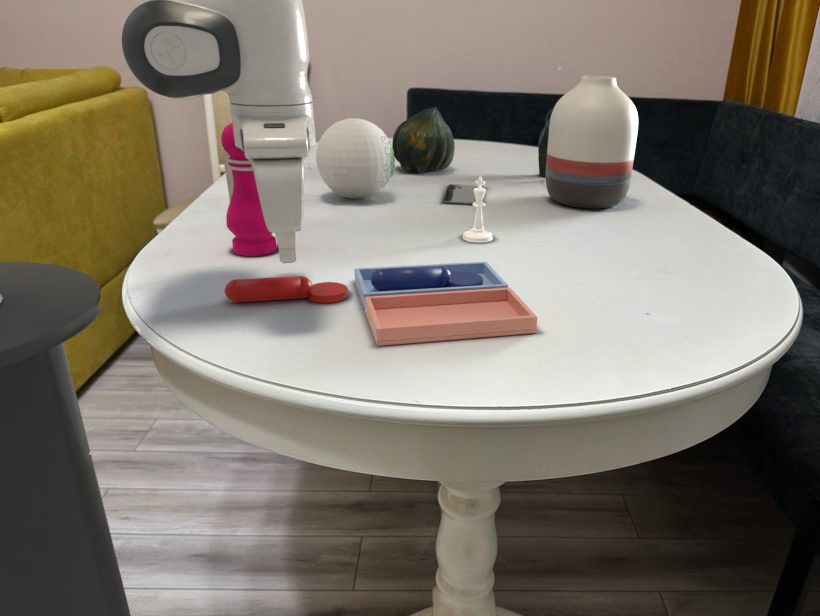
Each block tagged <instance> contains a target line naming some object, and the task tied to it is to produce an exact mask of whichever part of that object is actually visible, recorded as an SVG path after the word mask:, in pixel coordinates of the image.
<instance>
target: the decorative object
mask: <svg viewBox="0 0 820 616" xmlns="http://www.w3.org/2000/svg"><path fill="white" fill-rule="evenodd" d="M395 160H396V158H395V156H394V151H393V148H392V142H391V140H390V139H389V137H388V135H386V133H385V132H384V131H383V129H382V128H380V127H379V126H378V125H376V124H375V123H373V122H371V121H370V120H366V119H362V118H355V117H354V118H353V117H352V118H345V119H342V120H338V121H336V122H335V123H333V124H332V125H330V126H329V127H328V128H327V129H326V130H325V131H324V133H323V134H322V135H321V137H320V139H319V141H318V143H317V147H316V153H315V161H316V167H317V170H318V173H319V176H320V177H321V179H322V181H323V183H324V184H325V185H326V186H327V187H328V188H329V189H330V190H331V191H333V192H334V193H335V194H337V195H339V196H341V197H343V198H347V199H350V200H351V199H353V200H361V199H368V198H370V197H373V196H374V195H377V194H378V193H380V191H382V190H383V189H385V187H386V186H387V185H388V183H389V182H390V180H391V178H392V176H393V173H394V170H395V169H394V168H395V162H396V161H395Z"/></svg>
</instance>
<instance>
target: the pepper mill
mask: <svg viewBox="0 0 820 616" xmlns="http://www.w3.org/2000/svg"><path fill="white" fill-rule="evenodd" d="M220 144H221V146H222V148H224V150H225V151H226V152H227V153H228V154H229V156H230V157H229V158H228V159H227V161H228V162H229V163H228V164H229V165H228V168H229V169H231V170H232V175H233V194H232V197H231V201H230V200H229V204H228V207H227V210H226V217H225V218H226V219H225V220H226V221H225V222H226V227H227V229H228V230H229V231H230V233H231V234H233V236H234V237H233V238H232V240H231V244H232V250H233V251H232V252H233V253H235V254H236V255H238V256H243V257H260V256H266V255H270V254H272V253H274V252H276V251H277V249H278V245H277V239H276V236H274V235H273V233H271V232H269V231H268V229H267V226H266V223H265V220H264V216H263V212H262V208H261V203H260V199H259V194H258V190H257V185H256V181H255V177H254V172H253V168H252V165H251V162H250V161H249V159H247V158H246V157H245V154H244V152H243V151H242V150H241V149H240V148H238V147H236V146H235V140H234V132H233V124H232V122H229V123H228V124H226V125H225V127H224V128H223V130H222V132H221V135H220Z"/></svg>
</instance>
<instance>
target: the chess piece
mask: <svg viewBox="0 0 820 616" xmlns="http://www.w3.org/2000/svg"><path fill="white" fill-rule="evenodd" d="M477 178H478V179H475V180H474V184H476V185H477V186H478V187H477V188H474V189H473V191H474V194H475V198H476V202H474V203H473V204H471V205H472V206H473V207H475V213H474V219H473V225H472V226H471V228H470V229H469V230H466V231H464V232H463V234H462V239H463V241H466V242H470V243H475V244H476V243H477V244H481V243H482V244H484V243H489V242H492V241H493V240H494V239H493V233H492V232H490V231H487V230H486V228H485V227H484V219H483V208H484V207H486V206H487V204H486V203H485V202H484V201H483V200H484V199H485V196H486V195H485V194H486V193H487V189H486V188H485V187H484V188H482V186H483V185H486V181H485V180H483V176H478V177H477Z"/></svg>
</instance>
